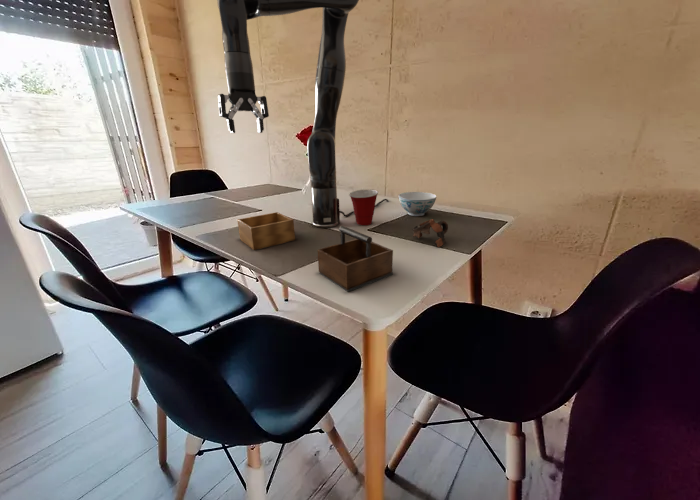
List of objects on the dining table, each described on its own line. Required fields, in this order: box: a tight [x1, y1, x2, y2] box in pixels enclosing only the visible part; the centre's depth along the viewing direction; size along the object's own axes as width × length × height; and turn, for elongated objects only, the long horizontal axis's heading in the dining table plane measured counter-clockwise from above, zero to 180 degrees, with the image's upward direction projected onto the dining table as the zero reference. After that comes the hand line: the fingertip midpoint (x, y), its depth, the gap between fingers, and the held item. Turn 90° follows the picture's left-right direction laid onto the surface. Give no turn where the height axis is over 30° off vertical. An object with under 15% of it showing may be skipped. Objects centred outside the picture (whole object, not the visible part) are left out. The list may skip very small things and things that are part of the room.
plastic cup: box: [348, 188, 379, 226], centre depth 116 cm, size 11×11×12 cm
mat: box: [319, 271, 394, 293], centre depth 78 cm, size 14×12×1 cm
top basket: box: [317, 225, 394, 290], centre depth 76 cm, size 14×12×11 cm
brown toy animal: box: [412, 218, 449, 248], centre depth 98 cm, size 12×10×8 cm
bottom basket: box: [236, 211, 296, 251], centre depth 101 cm, size 14×12×7 cm
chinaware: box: [398, 191, 437, 217], centre depth 128 cm, size 15×15×8 cm
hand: (247, 132), depth 95 cm, fingers open, 8 cm apart
